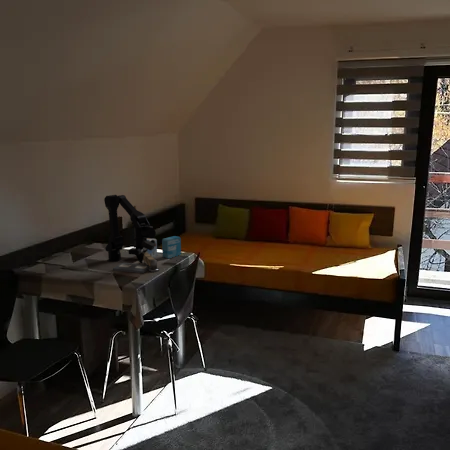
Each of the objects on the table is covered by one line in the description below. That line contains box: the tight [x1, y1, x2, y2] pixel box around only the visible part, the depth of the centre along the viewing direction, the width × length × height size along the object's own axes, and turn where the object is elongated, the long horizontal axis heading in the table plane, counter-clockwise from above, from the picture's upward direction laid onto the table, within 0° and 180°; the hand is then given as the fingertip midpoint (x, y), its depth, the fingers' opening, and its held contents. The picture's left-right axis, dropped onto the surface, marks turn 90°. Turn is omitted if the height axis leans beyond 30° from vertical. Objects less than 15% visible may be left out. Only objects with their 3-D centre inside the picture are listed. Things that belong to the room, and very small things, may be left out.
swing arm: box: [143, 252, 158, 269], centre depth 278 cm, size 21×4×5 cm, turn 24°
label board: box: [112, 262, 151, 274], centre depth 275 cm, size 19×12×1 cm, turn 74°
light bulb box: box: [145, 238, 158, 258], centre depth 299 cm, size 11×7×11 cm, turn 148°
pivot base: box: [148, 267, 160, 273], centre depth 271 cm, size 6×6×1 cm
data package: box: [161, 235, 182, 259], centre depth 300 cm, size 12×4×12 cm, turn 141°
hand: (141, 262), depth 277 cm, fingers closed
